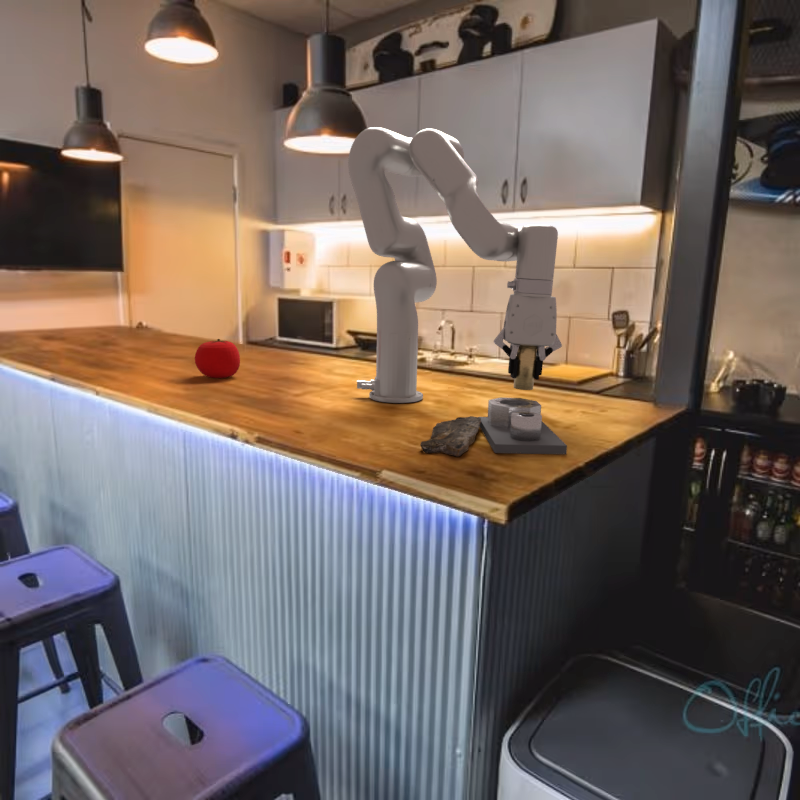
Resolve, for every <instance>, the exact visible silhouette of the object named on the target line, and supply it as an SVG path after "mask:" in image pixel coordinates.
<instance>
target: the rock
mask: <svg viewBox="0 0 800 800" xmlns="http://www.w3.org/2000/svg"><path fill="white" fill-rule="evenodd" d="M479 417H480V416H473V415H469V416H459V417H456V418H454V419H451V420H446V421H445V420H443V421H441V422H437V423H436V425H435V426H433V428H432V430H431V436H430V439H428V440H426V441H425V440H424V441H421V442H420V447H421V448H420V449H421V450H422V453H424V454H434V453H436V454H439V453H442V454H445V455H449V456H454V457H460V456H462V454H464V453H465V452H467V451H469V446H471V445H472V444H473V443H474V442H475V441H476V435H477V434H478V432H479V429H480V427H479V425H480V423H481V418H479Z"/></svg>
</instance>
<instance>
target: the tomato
mask: <svg viewBox="0 0 800 800" xmlns="http://www.w3.org/2000/svg"><path fill="white" fill-rule="evenodd" d="M194 363H195V366H196V368H197V369H198V371H199V372H200V373H201V374H202V375H203V376H204V377H208V378H211V379H225V378H230V377H232V376H234V375H235V374H236V373H237V372H238V370H239V369H240V364H241V356H240V352H239V349H238V347H237V345H235V343H233V342H232V341H230V340H221V339H220V338H218V339H216V340H207V341H205V342H203V343H201V344H200V345H199V346H198V347H197V349H196V352H195V355H194Z"/></svg>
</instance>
